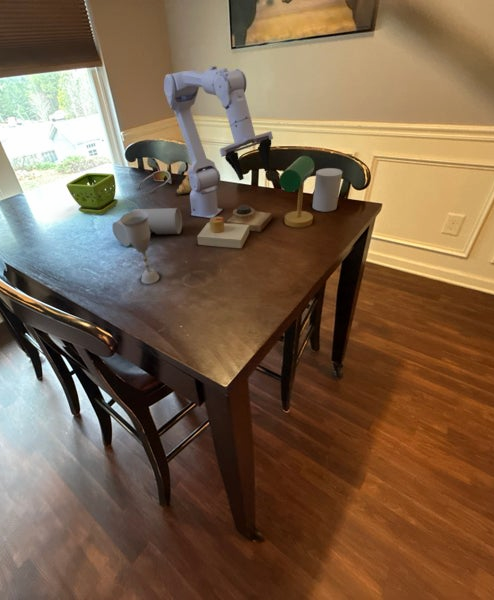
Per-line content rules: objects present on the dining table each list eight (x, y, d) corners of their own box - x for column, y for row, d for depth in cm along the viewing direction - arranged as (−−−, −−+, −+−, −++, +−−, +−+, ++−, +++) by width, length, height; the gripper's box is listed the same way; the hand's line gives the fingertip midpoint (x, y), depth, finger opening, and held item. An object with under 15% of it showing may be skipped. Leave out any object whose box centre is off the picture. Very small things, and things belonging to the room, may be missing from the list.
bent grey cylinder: (154, 215, 117) (111, 238, 105) (153, 189, 109) (106, 210, 98) (190, 235, 110) (148, 261, 98) (191, 208, 102) (145, 234, 91)
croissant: (184, 204, 134) (188, 190, 128) (167, 191, 136) (170, 175, 130) (214, 187, 146) (219, 173, 139) (199, 175, 148) (203, 160, 141)
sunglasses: (178, 182, 147) (175, 172, 144) (155, 197, 141) (152, 187, 137) (158, 178, 155) (155, 168, 152) (136, 192, 149) (132, 182, 145)
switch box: (227, 226, 106) (226, 215, 104) (239, 215, 113) (239, 204, 110) (260, 232, 101) (260, 220, 98) (271, 219, 107) (271, 208, 105)
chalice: (139, 272, 89) (122, 213, 78) (162, 269, 89) (149, 209, 78) (136, 287, 83) (118, 225, 72) (162, 284, 83) (147, 221, 72)
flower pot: (76, 215, 129) (64, 184, 121) (97, 202, 138) (87, 172, 130) (103, 217, 124) (93, 185, 116) (123, 203, 133) (114, 173, 126)
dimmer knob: (208, 232, 98) (207, 221, 95) (213, 226, 101) (212, 215, 98) (221, 233, 96) (221, 222, 94) (226, 227, 99) (225, 215, 97)
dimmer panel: (198, 244, 98) (197, 235, 96) (208, 230, 106) (208, 221, 104) (241, 248, 94) (240, 239, 92) (249, 233, 101) (249, 224, 99)
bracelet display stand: (277, 228, 102) (279, 169, 90) (291, 211, 111) (295, 155, 99) (305, 232, 97) (312, 171, 86) (317, 214, 106) (324, 156, 95)
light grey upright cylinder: (337, 211, 107) (343, 175, 99) (313, 211, 109) (317, 176, 101) (335, 202, 113) (340, 167, 105) (311, 202, 115) (315, 168, 107)
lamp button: (235, 214, 105) (234, 209, 104) (240, 209, 108) (240, 204, 107) (247, 215, 103) (246, 210, 102) (252, 210, 106) (252, 205, 105)
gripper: (217, 127, 78) (233, 182, 82) (271, 109, 79) (284, 164, 83) (213, 134, 85) (227, 184, 89) (262, 117, 86) (274, 168, 90)
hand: (254, 175), depth 87 cm, fingers open, 7 cm apart
